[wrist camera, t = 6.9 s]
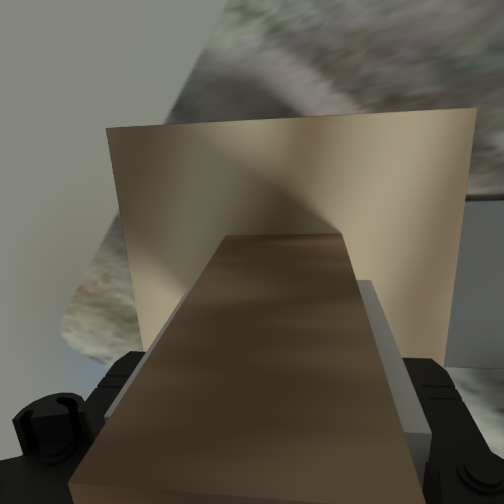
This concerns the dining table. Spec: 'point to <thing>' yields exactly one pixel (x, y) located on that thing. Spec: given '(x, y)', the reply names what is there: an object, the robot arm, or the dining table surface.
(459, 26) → the dining table surface
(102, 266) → the dining table surface
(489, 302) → the mat
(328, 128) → the post on square base
